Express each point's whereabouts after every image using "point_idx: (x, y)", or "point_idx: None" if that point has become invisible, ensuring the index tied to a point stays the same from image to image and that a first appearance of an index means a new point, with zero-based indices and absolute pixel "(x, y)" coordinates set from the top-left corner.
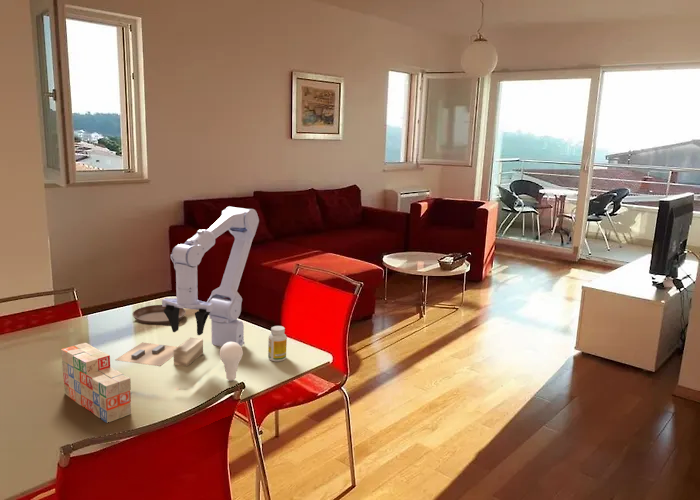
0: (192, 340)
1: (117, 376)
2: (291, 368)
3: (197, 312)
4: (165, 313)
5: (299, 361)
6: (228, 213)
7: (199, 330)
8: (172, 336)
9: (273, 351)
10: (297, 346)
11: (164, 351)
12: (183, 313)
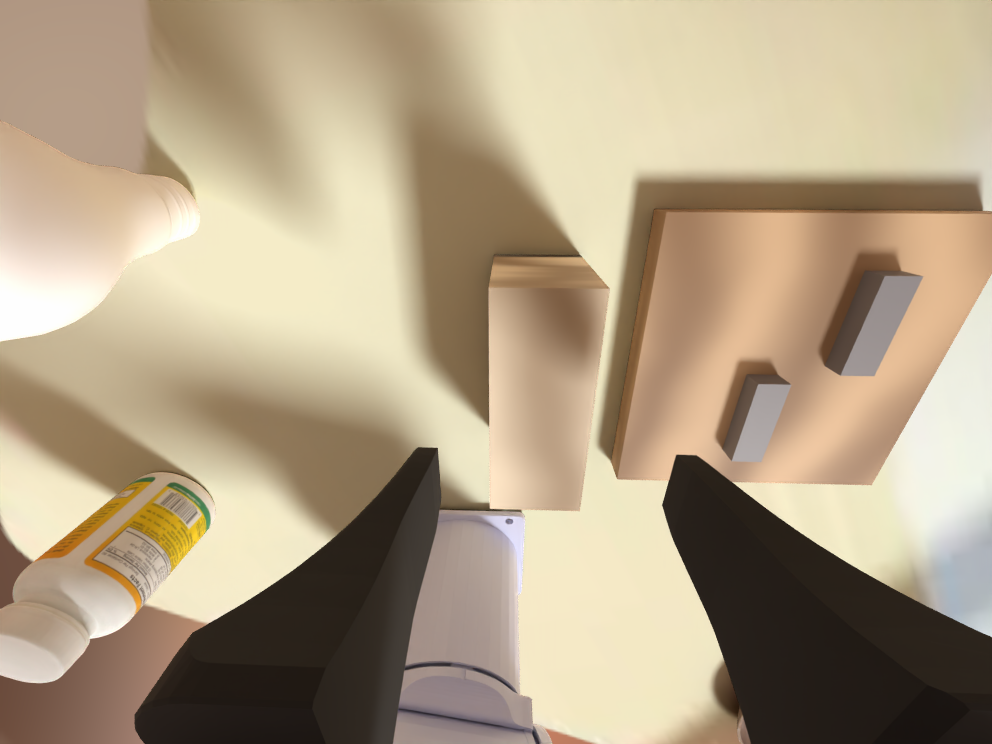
0: (544, 475)
1: None
2: (42, 427)
3: (288, 737)
4: (990, 642)
5: (73, 495)
6: None
7: (395, 475)
8: None
9: (122, 507)
10: (189, 601)
11: (710, 414)
12: (746, 732)
